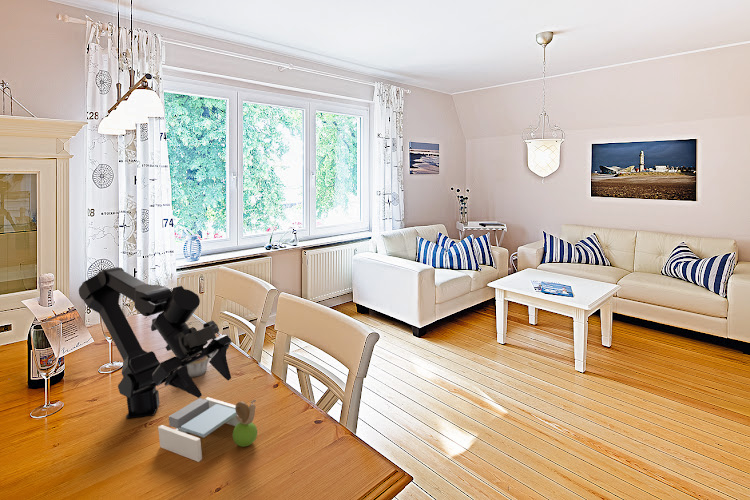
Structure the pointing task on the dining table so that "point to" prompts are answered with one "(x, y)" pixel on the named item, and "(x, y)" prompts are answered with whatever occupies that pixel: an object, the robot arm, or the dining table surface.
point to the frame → (188, 436)
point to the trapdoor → (201, 417)
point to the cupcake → (198, 367)
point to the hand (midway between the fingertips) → (215, 387)
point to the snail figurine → (245, 424)
